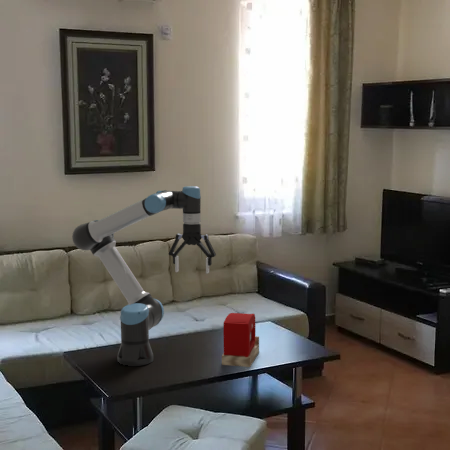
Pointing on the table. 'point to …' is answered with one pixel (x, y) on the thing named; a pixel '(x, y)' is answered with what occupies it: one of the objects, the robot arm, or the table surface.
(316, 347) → the table surface
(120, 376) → the table surface
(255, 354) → the wooden toy bed
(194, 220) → the robot arm
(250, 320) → the fire alarm
